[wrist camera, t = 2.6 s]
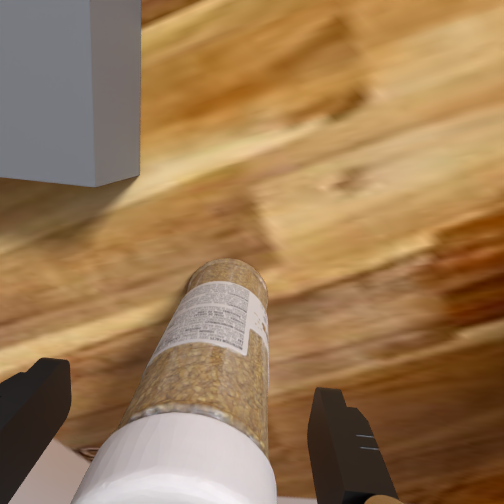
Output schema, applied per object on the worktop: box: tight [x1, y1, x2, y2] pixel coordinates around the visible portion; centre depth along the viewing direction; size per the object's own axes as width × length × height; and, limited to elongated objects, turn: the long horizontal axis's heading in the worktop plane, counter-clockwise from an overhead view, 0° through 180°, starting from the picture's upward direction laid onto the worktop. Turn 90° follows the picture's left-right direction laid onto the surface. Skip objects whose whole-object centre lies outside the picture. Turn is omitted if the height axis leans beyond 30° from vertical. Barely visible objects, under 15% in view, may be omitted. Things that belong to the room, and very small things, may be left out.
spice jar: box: [71, 258, 277, 504], centre depth 13 cm, size 5×5×13 cm
